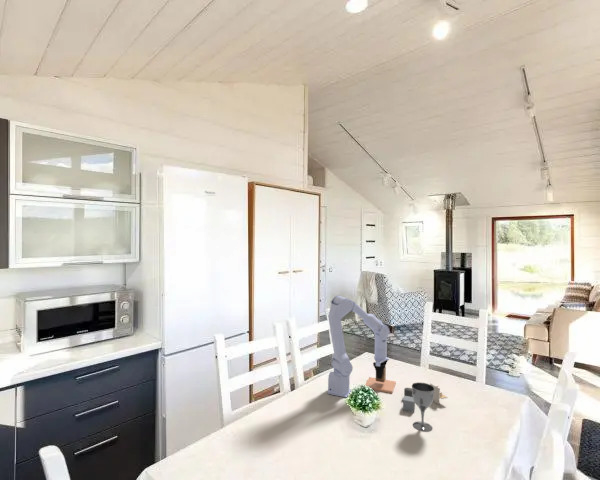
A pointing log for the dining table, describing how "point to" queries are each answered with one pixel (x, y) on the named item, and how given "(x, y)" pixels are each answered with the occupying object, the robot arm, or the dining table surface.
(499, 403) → the dining table surface
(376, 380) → the walnut block
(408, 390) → the rubber cylinder
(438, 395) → the architectural model
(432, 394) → the wine glass
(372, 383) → the terracotta tile
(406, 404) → the grey cube
